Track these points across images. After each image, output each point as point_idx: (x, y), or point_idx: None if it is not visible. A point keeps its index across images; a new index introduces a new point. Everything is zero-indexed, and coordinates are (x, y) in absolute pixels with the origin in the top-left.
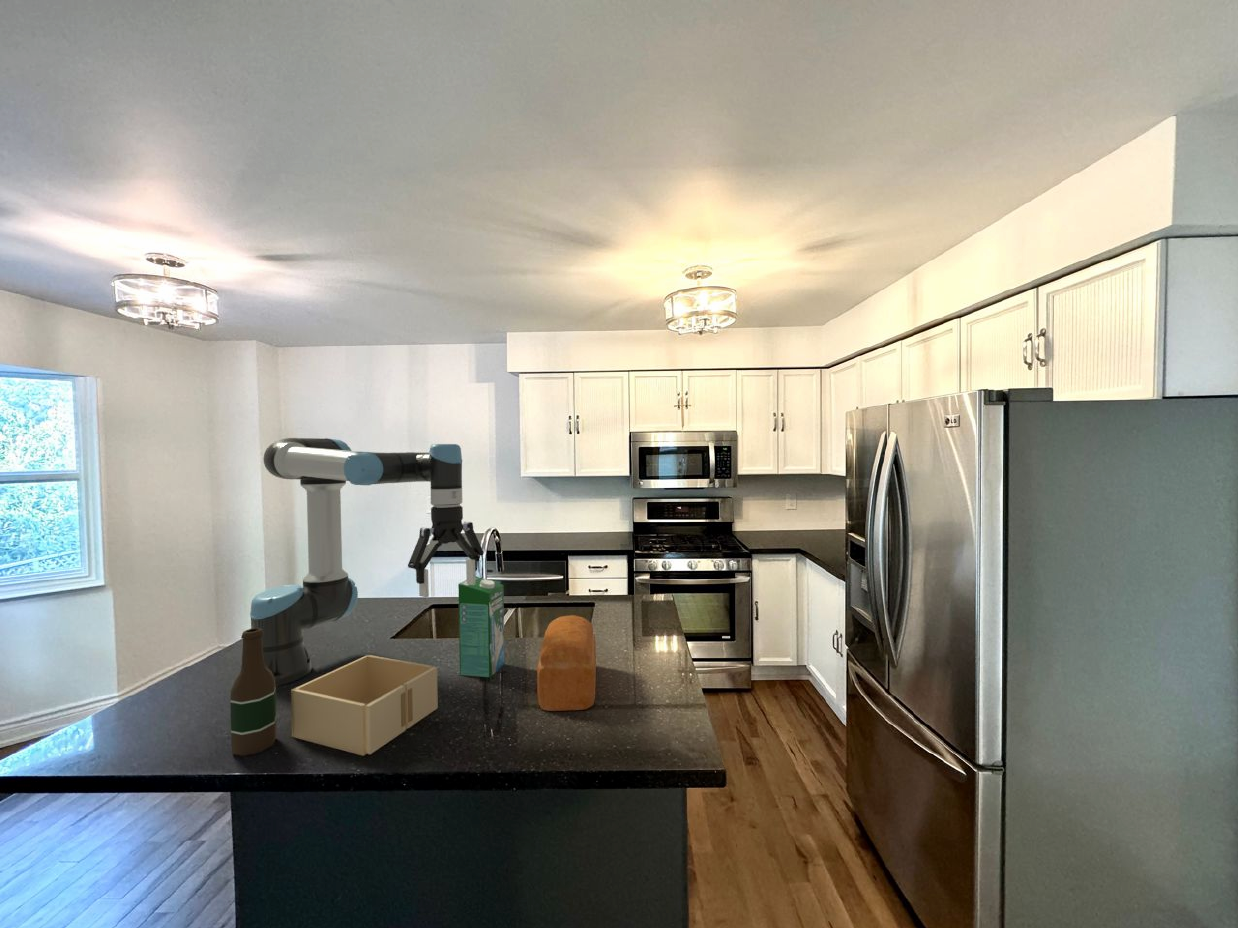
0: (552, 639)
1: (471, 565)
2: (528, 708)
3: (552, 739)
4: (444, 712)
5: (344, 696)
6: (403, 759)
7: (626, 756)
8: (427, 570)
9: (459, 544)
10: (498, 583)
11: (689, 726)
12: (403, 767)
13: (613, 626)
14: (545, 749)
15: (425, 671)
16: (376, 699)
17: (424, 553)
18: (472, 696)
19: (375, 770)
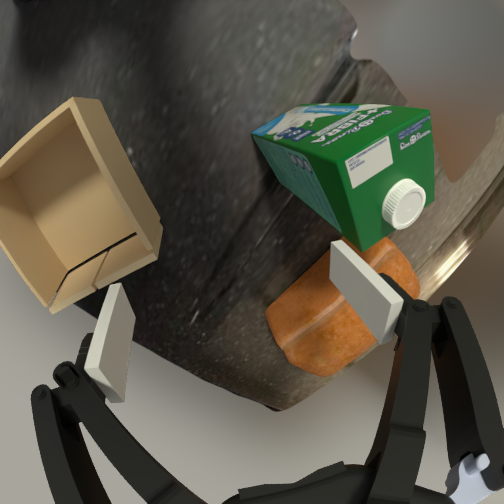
0: (321, 356)
1: (368, 320)
2: (257, 299)
3: (234, 354)
4: (168, 240)
5: (50, 136)
6: (100, 303)
7: (260, 389)
8: (121, 399)
9: (389, 411)
10: (433, 189)
11: (321, 382)
12: (98, 314)
13: (475, 179)
14: (219, 361)
15: (134, 262)
16: (59, 303)
17: (104, 450)
18: (222, 223)
19: (75, 302)
